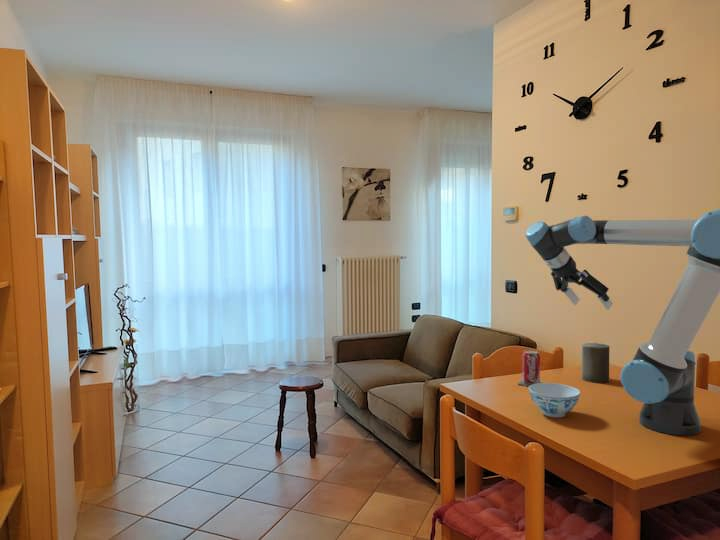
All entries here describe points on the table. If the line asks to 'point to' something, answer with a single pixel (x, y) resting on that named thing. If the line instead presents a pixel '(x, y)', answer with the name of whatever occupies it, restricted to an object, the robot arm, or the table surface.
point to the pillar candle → (595, 362)
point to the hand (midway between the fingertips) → (592, 304)
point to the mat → (525, 383)
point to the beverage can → (531, 367)
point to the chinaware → (554, 398)
